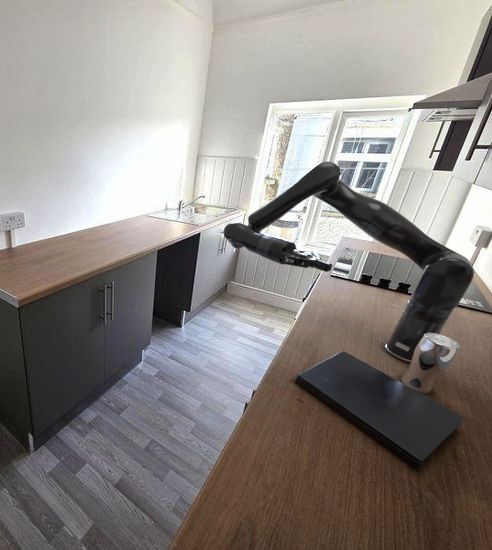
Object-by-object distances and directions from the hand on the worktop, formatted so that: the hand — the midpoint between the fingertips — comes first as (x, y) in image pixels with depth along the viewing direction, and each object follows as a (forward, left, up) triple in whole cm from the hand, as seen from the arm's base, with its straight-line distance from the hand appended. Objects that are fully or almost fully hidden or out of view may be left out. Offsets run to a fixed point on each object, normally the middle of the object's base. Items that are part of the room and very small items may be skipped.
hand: (330, 268), depth 81 cm
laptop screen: (+4, +21, -26) cm, 33 cm away
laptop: (+4, +21, -28) cm, 35 cm away
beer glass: (-16, +23, -28) cm, 40 cm away
